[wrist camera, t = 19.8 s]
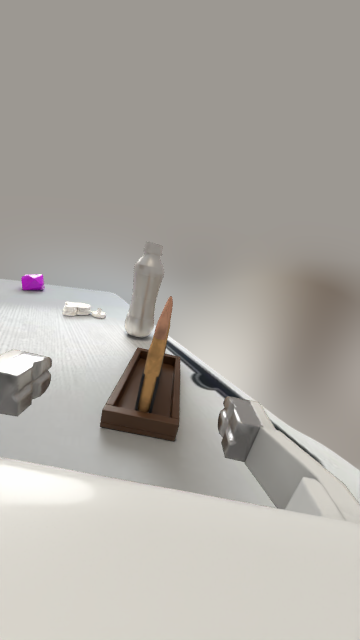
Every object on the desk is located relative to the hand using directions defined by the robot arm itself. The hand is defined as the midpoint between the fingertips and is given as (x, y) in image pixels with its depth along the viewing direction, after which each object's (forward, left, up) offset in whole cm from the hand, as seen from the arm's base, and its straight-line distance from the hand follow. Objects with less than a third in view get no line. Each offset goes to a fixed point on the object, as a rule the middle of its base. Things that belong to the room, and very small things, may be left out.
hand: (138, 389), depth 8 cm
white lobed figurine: (+38, +22, -11) cm, 45 cm away
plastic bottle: (+33, +6, -11) cm, 35 cm away
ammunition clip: (+14, 0, -10) cm, 18 cm away
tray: (+15, 0, -11) cm, 18 cm away
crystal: (+50, +43, -11) cm, 66 cm away
